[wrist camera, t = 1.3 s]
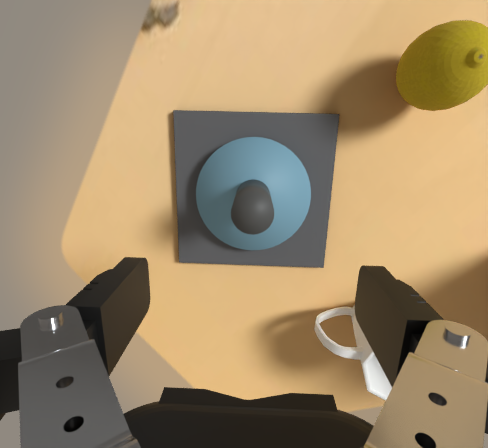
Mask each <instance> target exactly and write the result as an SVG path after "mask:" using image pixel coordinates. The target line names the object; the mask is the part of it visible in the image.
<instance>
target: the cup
mask: <svg viewBox="0 0 488 448" xmlns="http://www.w3.org/2000/svg"><path fill="white" fill-rule="evenodd" d="M339 315H351V318H352V323H353V329H354V335H355V340H356V345H357V347H343V346H341V345H338V344H337V343H335V342H334V341H333V340H331V339H330V338H328V337H327V335H326V334H325V333H324V331H323V330H322V328H321V326H320V324H319V323H321V322H322V321H324V320H326V319H329V318H332V317H335V316H339ZM314 330H315V332H316V335H317V337H318V338H319V340H320V341H321V343H322V344H323V346H325V347H326V348H327V349H329V350H330V351H331V352H333V353H334V354H336V355H339V356H341V357H345V358H349V359H356V360H360V361H361V365H362V370H363V374H364V378H365V383H366V387H367V391H369V392H371V393H372V394H374V395H376V396H378V397H380V398H382V399H384V400H387V397H388V395H389V393H390V391H391V389H392V386H391V385H390V383H389V381H388V379H387V377H386V375H385V373H384V371H383V369H382V367H381V366H380V364H379V362H378V360H377V358H376V356H375V354H374V352H373V350H372V349H371V347H370V345H369V343H368V341H367V339H366V337H365V335H364V333H363V331H362V330H361V328H360V326H359V324H358V322H357V320H356V316H355V305H354V306H353V307H338V308H334V309H330V310H327V311H325V312H322V313H321V314H319V315H318V316H317V318H316V322H315V327H314Z"/></svg>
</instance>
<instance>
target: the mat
mask: <svg viewBox="0 0 488 448" xmlns="http://www.w3.org/2000/svg"><path fill="white" fill-rule="evenodd" d="M173 113H174V139H175V165H176V191H177V217H178V243H179V262H181V263H209V264H237V265H264V266H292V267H320V268H324V258H325V248H326V239H327V229H328V219H329V210H330V200H331V190H332V181H333V171H334V162H335V152H336V142H337V133H338V123H339V114H313V113H269V112H225V111H181V110H173ZM245 137H263V138H267V139H271V140H273V141H276V142H278V143H280V144H282V145H284V146H285V147H287V148H288V149H289V150H291V151H292V152H293V153H294V154H295V155H296V156H297V157H298V159H299V160H300V161H301V162H302V164H303V166H304V168H305V170H306V172H307V174H308V177H309V181H310V187H311V200H310V206H309V210H308V213H307V215H306V218H305V220H304V221H303V223H302V225H301V226H300V227H299V229H298V230H297V231H296V232H295V233H294V234H293V235H292V236H291V237H290V238H288V239H287V240H286V241H284V242H282V243H281V244H279V245H276V246H274V247H271V248H268V249H263V250H244V249H239V248H236V247H233V246H230V245H228V244H226V243H224V242H223V241H221V240H220V239H218V238H217V237H216V236H215V235H214V234H213V233H212V232H211V231H210V230H209V229H208V228H207V226H206V225H205V223H204V222H203V220H202V218H201V216H200V213H199V210H198V206H197V201H196V186H197V181H198V177H199V174H200V172H201V170H202V168H203V166H204V164H205V163H206V161H207V160H208V159H209V157H210V156H211V155H212V154H213V153H214V152H215V151H216V150H218V149H219V148H220V147H222V146H223V145H225V144H227V143H229V142H231V141H234V140H237V139H240V138H245Z"/></svg>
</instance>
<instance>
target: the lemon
mask: <svg viewBox="0 0 488 448" xmlns="http://www.w3.org/2000/svg"><path fill="white" fill-rule="evenodd" d="M487 84H488V27H486V26H485V25H483V24H481V23H477V22H474V21H451V22H448V23H444V24H441V25H437V26H435V27H433V28H431V29H430V30H428V31H426V32H424V33H423V34H421V35H420V36H419V37H418V38H417V39H415V40H414V41H413V42H412V43H411V44H410V45H409V46H408V48H407V49H406V51H405V52H404V53H403V55H402V57H401V59H400V61H399V64H398V67H397V72H396V85H397V88H398V91H399V93H400V95H401V96H402V98H403V99H404V100H405V101H406V102H407V103H409V104H410V105H412V106H414V107H416V108H418V109H422V110H430V111H436V110H444V109H449V108H452V107H454V106H457V105H460V104H462V103H464V102H466V101H468V100H469V99H471V98H472V97H474V96H475V95H477V94H478V93H479V92H480V91H481V90H482V89H483V88H484V87H485V86H486V85H487Z"/></svg>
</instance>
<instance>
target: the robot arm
mask: <svg viewBox="0 0 488 448" xmlns="http://www.w3.org/2000/svg"><path fill="white" fill-rule="evenodd" d="M149 305H150V286H149V272H148V262H147V259H146V258H133V257H125V258H124V259H123V260H122V261H120V262H119V263H118V264H117V265H116V266H115V267H114V268H113V269H109V270H107V271H105V272H103V273H101V274H99V275H97V276H96V277H95V278H94V279H93V280H92V281H91V282H90V284H88V285H87V286H85V287H84V289H83V290H81V291H80V292H79V293H78V294H77V295H76V296H75V297H73V298H72V299H71V300H70V301H69V302H68V303H67V304H66V305H61V306H53V307H48V308H45V309H42V310H39V311H37V312H35V313H33V314H31V315H30V316H28V317H27V318H26V319H24V320H23V322H22V323H21V326H20V328H19V329H12V330H5V331H0V420H1V419H2V417H3V416H4V415H5V413H7V412H12V411H17V410H19V411H20V443H21V448H483V444H484V433H487V434H488V341H487V340H486V338H485V337H484V336H483V335H481V334H480V333H479V332H477V331H476V330H474V329H472V328H470V327H468V326H466V325H463V324H460V323H457V322H453V321H448V320H444V319H443V318H442V317H441V316H440V315H439V314H438V313H437V312H436V311H435V310H434V309H433V308H432V307H431V306H430V305H429V304H428V303H426V301H425V300H424V299H423V298H422V297H421V296H419V294H418V293H417V292H416V291H415V290H414V289H413V288H412V287H411V286H409V285H407V284H405V283H404V282H402V281H400V280H396V279H395V278H394V277H393V276H392V275H391V274H390V272H389V271H388V270H387V269H386V268H385V267H383V266H361V268H360V271H359V277H358V284H357V291H356V298H355V316H356V320H357V322H358V324H359V326H360V328H361V330H362V331H363V333H364V335H365V337H366V339H367V341H368V343H369V345H370V347H371V349H372V350H373V352H374V354H375V356H376V358H377V360H378V362H379V364H380V366H381V367H382V369H383V371H384V373H385V375H386V377H387V379H388V381H389V383H390V385H391V386H392V389H391V391H390V393H389V395H388V397H387V400H386V402H385V404H384V406H383V408H382V410H381V412H380V414H379V416H378V418H377V420H376V423H375V425H374V426H373V425H371V424H370V423H368V422H366V421H365V420H363V419H360V418H358V417H356V416H354V415H352V414H349V413H346V412H344V411H340V410H337V407H336V404H335V400H334V397H333V395H322V394H300V393H289V394H283V395H277V396H271V397H266V398H260V399H254V400H244V399H240V398H236V397H232V396H229V395H225V394H221V393H218V392H214V391H210V390H206V389H190V388H189V389H188V388H167V387H164V390H163V393H162V395H161V398H160V401H159V402H153V403H150V404H146V405H143V406H140V407H137V408H135V409H133V410H131V411H128V412H127V413H124V414H123V412H122V409H121V407H120V404H119V402H118V399H117V397H116V394H115V392H114V389H113V386H112V384H111V381H110V379H109V376H110V374H111V372H112V371H113V369H114V367H115V366H116V364H117V362H118V361H119V359H120V357H121V355H122V354H123V352H124V350H125V349H126V347H127V345H128V344H129V342H130V340H131V339H132V337H133V335H134V334H135V332H136V330H137V329H138V327H139V325H140V324H141V322H142V320H143V318H144V317H145V315H146V313H147V312H148V309H149Z"/></svg>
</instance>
